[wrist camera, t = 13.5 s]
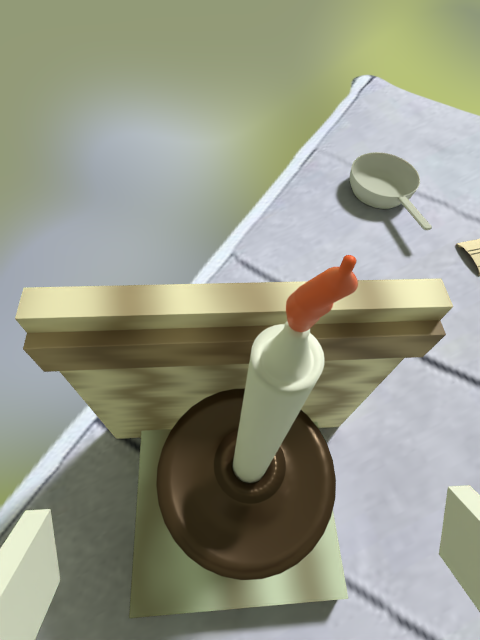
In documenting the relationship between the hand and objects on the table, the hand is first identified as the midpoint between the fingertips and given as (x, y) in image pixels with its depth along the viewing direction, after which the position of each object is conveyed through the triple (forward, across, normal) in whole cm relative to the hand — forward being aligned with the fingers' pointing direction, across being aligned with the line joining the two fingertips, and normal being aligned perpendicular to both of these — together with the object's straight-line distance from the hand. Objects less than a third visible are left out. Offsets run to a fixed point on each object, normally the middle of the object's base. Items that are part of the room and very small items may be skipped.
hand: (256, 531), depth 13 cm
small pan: (+52, +27, +13) cm, 60 cm away
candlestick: (+20, +1, -15) cm, 25 cm away
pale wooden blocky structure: (+22, 0, -16) cm, 27 cm away
